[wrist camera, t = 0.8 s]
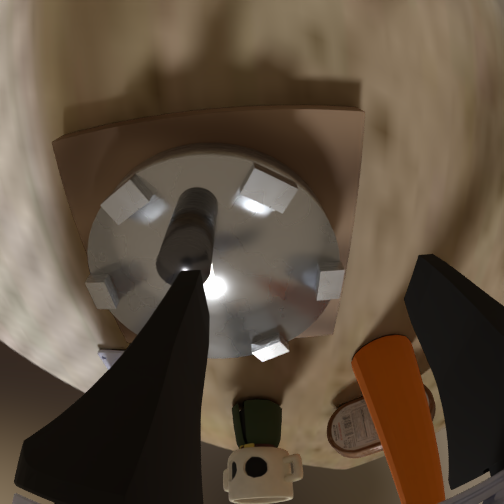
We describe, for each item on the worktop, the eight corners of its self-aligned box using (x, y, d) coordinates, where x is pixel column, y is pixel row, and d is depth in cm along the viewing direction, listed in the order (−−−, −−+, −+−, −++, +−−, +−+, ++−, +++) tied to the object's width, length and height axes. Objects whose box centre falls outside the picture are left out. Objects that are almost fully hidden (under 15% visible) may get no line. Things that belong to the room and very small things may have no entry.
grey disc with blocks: (318, 327, 24) (336, 406, 18) (136, 334, 24) (118, 410, 18) (339, 137, 15) (399, 196, 9) (74, 162, 15) (3, 227, 9)
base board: (329, 321, 26) (333, 335, 25) (130, 330, 26) (126, 344, 25) (355, 107, 16) (366, 112, 14) (63, 135, 16) (50, 142, 14)
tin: (327, 415, 39) (336, 466, 32) (320, 409, 38) (328, 463, 31) (424, 376, 35) (443, 426, 28) (423, 367, 34) (443, 421, 27)
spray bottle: (397, 302, 26) (483, 580, 4) (414, 353, 31) (473, 554, 10) (328, 335, 28) (378, 613, 6) (360, 378, 33) (401, 580, 12)
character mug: (275, 382, 32) (285, 492, 22) (307, 400, 36) (320, 494, 25) (206, 408, 36) (202, 501, 25) (241, 423, 39) (243, 506, 29)
